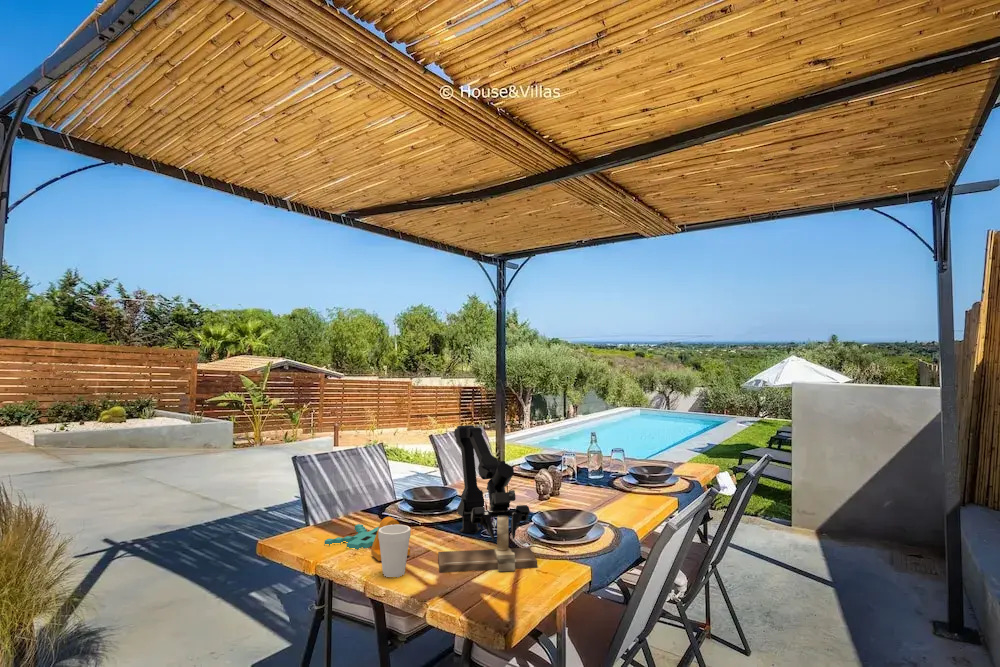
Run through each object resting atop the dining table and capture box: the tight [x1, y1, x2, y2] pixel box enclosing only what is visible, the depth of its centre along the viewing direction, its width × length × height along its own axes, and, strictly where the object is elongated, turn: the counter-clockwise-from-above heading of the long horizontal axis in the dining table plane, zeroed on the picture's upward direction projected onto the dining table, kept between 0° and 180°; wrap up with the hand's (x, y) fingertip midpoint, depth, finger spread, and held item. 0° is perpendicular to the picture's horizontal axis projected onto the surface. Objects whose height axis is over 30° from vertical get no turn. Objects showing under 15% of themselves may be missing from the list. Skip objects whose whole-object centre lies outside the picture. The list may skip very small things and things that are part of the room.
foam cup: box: [378, 524, 412, 578], centre depth 159 cm, size 10×9×13 cm
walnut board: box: [437, 547, 538, 573], centre depth 167 cm, size 30×12×2 cm, turn 98°
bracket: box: [370, 516, 411, 562], centre depth 172 cm, size 11×7×12 cm, turn 122°
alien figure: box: [324, 523, 379, 550], centre depth 189 cm, size 20×2×20 cm
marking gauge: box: [494, 515, 516, 572], centre depth 165 cm, size 5×10×14 cm, turn 8°
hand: (503, 538), depth 167 cm, fingers open, 6 cm apart
